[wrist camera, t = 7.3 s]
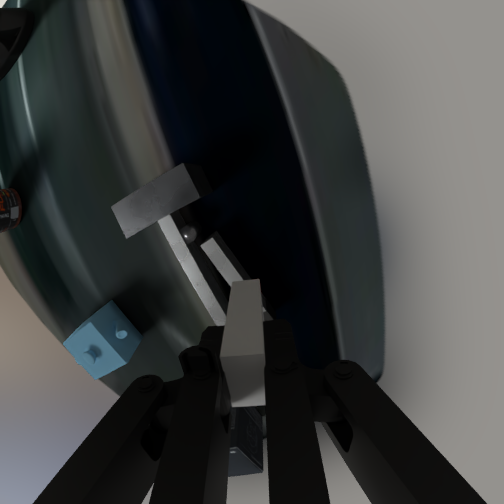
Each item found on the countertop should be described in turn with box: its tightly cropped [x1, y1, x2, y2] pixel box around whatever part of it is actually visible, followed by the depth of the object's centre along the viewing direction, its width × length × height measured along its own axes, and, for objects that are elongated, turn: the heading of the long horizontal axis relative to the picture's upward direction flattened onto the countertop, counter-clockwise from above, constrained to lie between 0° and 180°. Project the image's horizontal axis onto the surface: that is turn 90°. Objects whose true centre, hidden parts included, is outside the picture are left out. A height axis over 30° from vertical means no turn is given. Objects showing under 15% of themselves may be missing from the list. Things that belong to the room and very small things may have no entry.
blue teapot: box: [63, 300, 143, 380], centre depth 28 cm, size 12×6×8 cm, turn 124°
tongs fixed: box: [158, 210, 229, 326], centre depth 28 cm, size 15×3×3 cm, turn 25°
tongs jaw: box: [201, 231, 276, 321], centre depth 28 cm, size 11×2×3 cm, turn 34°
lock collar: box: [111, 163, 213, 238], centre depth 23 cm, size 3×7×7 cm, turn 115°
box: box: [228, 400, 263, 477], centre depth 30 cm, size 8×6×11 cm
